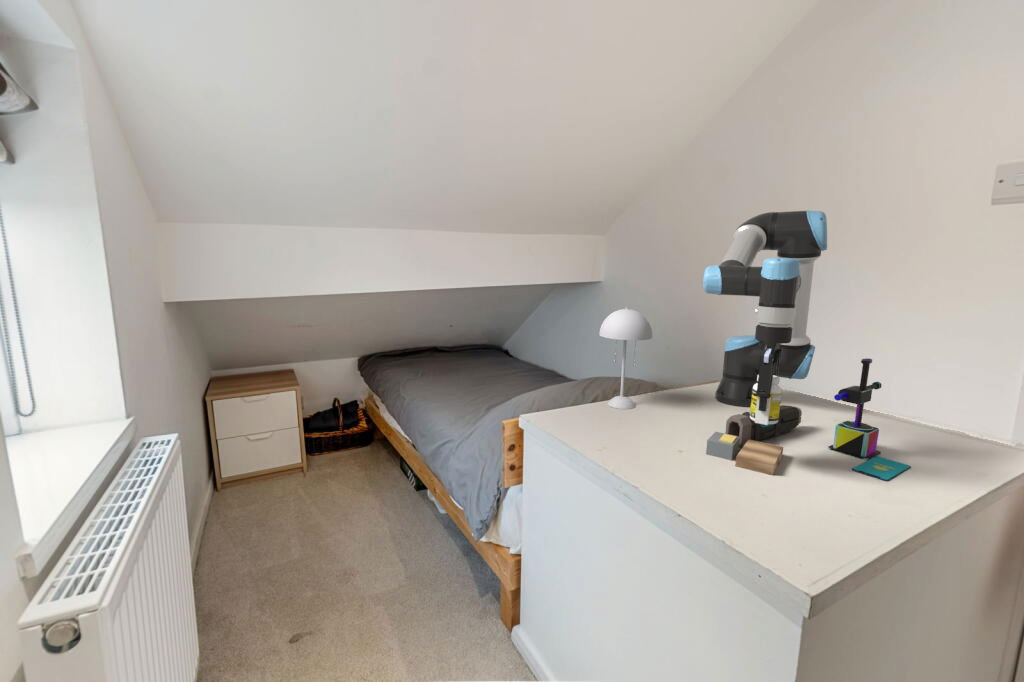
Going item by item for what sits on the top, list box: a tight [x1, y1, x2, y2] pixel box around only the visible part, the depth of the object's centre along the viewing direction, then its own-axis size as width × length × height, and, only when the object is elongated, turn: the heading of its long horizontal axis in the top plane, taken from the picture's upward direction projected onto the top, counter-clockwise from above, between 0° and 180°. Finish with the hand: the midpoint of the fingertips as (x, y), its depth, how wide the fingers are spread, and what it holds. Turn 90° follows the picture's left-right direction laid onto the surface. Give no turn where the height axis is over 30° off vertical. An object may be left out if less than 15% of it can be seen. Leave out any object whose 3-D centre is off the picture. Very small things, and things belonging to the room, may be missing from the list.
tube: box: [725, 404, 803, 448], centre depth 133 cm, size 11×7×30 cm
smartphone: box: [851, 455, 912, 482], centre depth 114 cm, size 7×1×15 cm
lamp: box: [598, 307, 653, 410], centre depth 159 cm, size 17×17×33 cm
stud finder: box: [705, 431, 740, 461], centre depth 121 cm, size 8×6×4 cm
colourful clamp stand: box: [827, 357, 882, 461], centre depth 125 cm, size 25×9×24 cm, turn 124°
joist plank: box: [735, 439, 784, 476], centre depth 117 cm, size 14×8×2 cm, turn 143°
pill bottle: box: [749, 375, 783, 424], centre depth 114 cm, size 6×6×11 cm
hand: (763, 419), depth 115 cm, fingers closed on pill bottle, 6 cm apart
